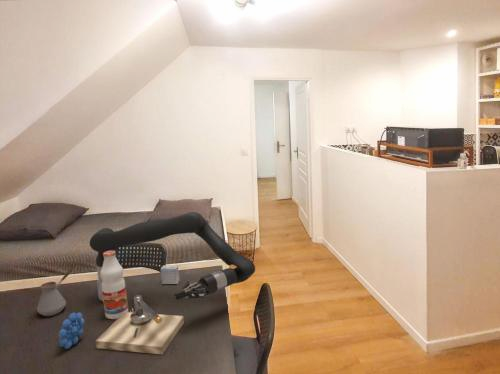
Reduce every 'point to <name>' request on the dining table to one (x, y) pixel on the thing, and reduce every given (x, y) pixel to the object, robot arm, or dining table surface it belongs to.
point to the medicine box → (170, 274)
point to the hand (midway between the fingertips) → (175, 297)
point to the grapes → (71, 330)
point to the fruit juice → (113, 286)
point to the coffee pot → (51, 298)
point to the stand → (140, 334)
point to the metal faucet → (143, 312)
